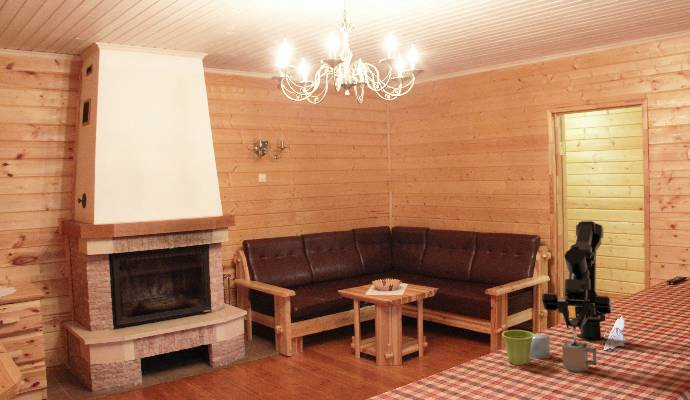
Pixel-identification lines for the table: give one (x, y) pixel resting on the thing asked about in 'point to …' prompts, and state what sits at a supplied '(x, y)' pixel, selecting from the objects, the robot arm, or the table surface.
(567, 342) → the press carafe
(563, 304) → the robot arm
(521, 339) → the plant pot
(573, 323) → the plunger
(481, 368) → the table surface
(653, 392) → the table surface
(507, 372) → the table surface
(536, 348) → the grey rounded cylinder
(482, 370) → the table surface
